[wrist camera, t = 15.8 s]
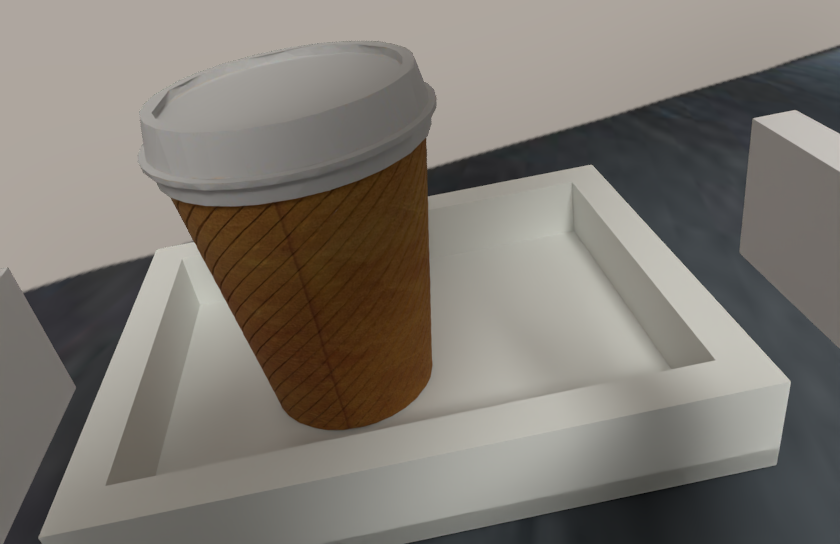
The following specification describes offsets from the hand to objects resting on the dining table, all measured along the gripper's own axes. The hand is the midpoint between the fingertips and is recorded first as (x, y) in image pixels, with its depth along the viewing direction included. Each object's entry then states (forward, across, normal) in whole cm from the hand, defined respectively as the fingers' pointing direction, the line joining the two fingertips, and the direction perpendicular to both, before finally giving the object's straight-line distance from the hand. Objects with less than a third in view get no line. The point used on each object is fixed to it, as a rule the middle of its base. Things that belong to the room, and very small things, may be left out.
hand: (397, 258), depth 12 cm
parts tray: (+12, -1, -12) cm, 17 cm away
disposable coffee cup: (+11, -3, -12) cm, 16 cm away
